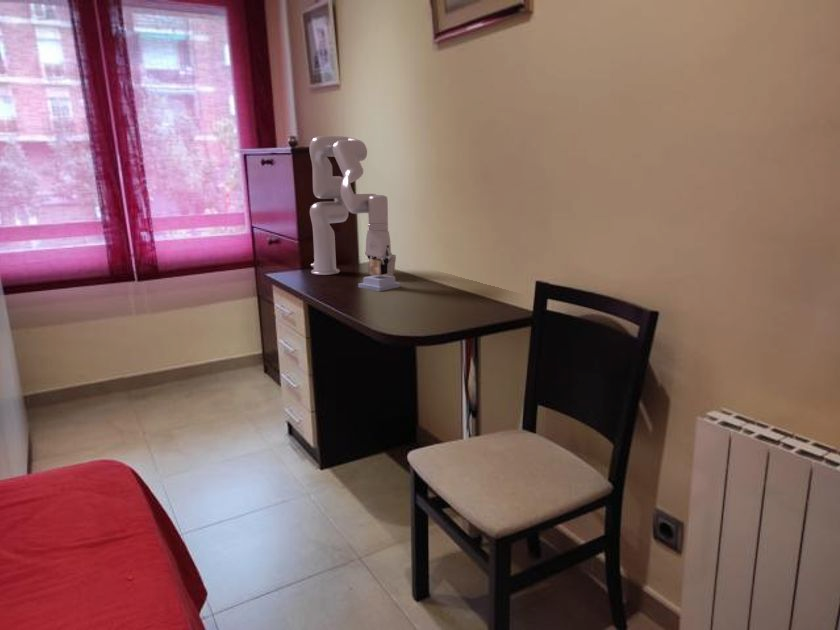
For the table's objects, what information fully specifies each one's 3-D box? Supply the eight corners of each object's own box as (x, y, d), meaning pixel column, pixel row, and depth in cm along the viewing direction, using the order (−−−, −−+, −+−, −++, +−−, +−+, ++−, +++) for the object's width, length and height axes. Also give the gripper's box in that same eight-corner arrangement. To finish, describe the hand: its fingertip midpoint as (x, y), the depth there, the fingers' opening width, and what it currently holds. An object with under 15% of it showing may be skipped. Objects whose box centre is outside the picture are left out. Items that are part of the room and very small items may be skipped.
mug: (395, 280, 250) (395, 257, 247) (365, 280, 250) (365, 257, 247) (396, 276, 258) (396, 254, 255) (368, 276, 258) (367, 254, 255)
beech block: (370, 274, 235) (369, 259, 234) (379, 272, 239) (378, 258, 237) (379, 276, 232) (378, 260, 230) (387, 274, 236) (387, 259, 234)
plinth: (358, 287, 236) (358, 277, 235) (379, 282, 245) (379, 273, 244) (379, 291, 228) (379, 281, 227) (400, 286, 237) (400, 276, 236)
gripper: (356, 226, 233) (357, 271, 238) (387, 229, 223) (387, 277, 227) (370, 225, 239) (371, 269, 243) (400, 228, 228) (401, 274, 233)
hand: (379, 272), depth 235 cm, fingers closed on beech block, 5 cm apart
